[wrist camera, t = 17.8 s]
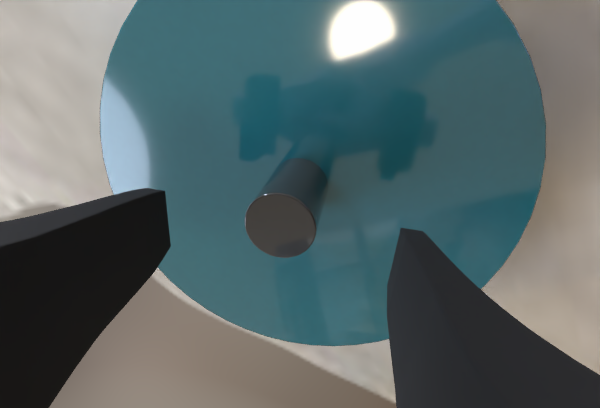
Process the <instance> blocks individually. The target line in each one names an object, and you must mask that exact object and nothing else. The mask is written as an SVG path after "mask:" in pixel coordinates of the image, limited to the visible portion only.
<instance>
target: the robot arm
mask: <svg viewBox="0 0 600 408" xmlns="http://www.w3.org/2000/svg"><path fill="white" fill-rule="evenodd" d="M170 247H171V244H170V234H169V224H168V214H167V204H166V194H165V191H163V190H157V189H150V188H143V189H137V190H132V191H127V192H123V193H119V194H115V195H112V196H108V197H104V198H100V199H97V200H93V201H89V202H86V203H82V204H78V205H75V206H71V207H67V208H63V209H59V210H54V211H50V212H46V213H43V214H38V215H34V216H30V217H25V218H20V219H15V220H10V221H4V222H0V408H49V406H50V405H51V403H52V402H53V400H54V399H55V397H56V396H57V394H58V393H59V391H60V390H61V388H62V387H63V385H64V384H65V382H66V381H67V379H68V378H69V376H70V375H71V374H72V372H73V371H74V369H75V368H76V366H77V365H78V364H79V362H80V361H81V359H82V358H83V357H84V355H85V354H86V352H87V351H88V350H89V348H90V347H91V345H92V344H93V343H94V341H95V340H96V339H97V337H98V336H99V335H100V334H101V332H102V331H103V330H104V329H105V328H106V326H107V325H108V324H109V323H110V322H111V321H112V320H113V319H114V317H115V316H116V315H117V314H118V313H119V312H120V311H121V309H122V308H123V307H124V306H125V305H126V304H127V303H128V302H129V300H130V299H131V298H132V297H133V296H134V295H135V294H136V293H137V291H138V290H139V289H140V288H141V287H142V286H143V285H144V283H145V282H146V281H147V280H148V279H149V278H150V276H151V275H152V274H153V273H154V272H155V270H156V269H157V267H158V266H159V264H160V263H161V261H162V260H163V258H164V257H165V255H166V253H167V252H168V250H169V248H170ZM387 322H388V331H389V340H390V349H391V357H392V366H393V374H394V382H395V392H396V406H397V408H600V375H599V374H597V373H595V372H594V371H592V370H590V369H589V368H587V367H586V366H584V365H582V364H581V363H579V362H577V361H576V360H574V359H573V358H571V357H570V356H568V355H567V354H565V353H564V352H562V351H561V350H559V349H558V348H556V347H555V346H553V345H552V344H550V343H549V342H547V341H546V340H544V339H543V338H541V337H540V336H538V335H537V334H536V333H534V332H533V331H531V330H530V329H529V328H527V327H526V326H525V325H523V324H522V323H521V322H519V321H518V320H517V319H515V318H514V317H513V316H512V315H510V314H509V313H508V312H506V311H505V310H504V309H503V308H501V307H500V306H499V305H498V304H497V303H495V302H494V301H493V300H492V299H491V298H489V297H488V296H487V295H486V294H485V293H484V292H483V291H482V290H481V289H480V288H478V287H477V286H476V285H475V284H474V283H473V282H472V281H471V280H470V279H469V278H468V277H467V276H466V275H465V274H464V273H463V272H462V271H461V270H460V269H459V268H458V267H457V266H456V265H455V264H454V263H453V262H452V261H451V260H450V259H449V258H448V257H447V256H446V255H445V254H444V253H443V252H442V251H441V249H440V248H439V247H438V246H437V245H436V244H435V243H434V242H433V241H432V240H431V239H430V238H429V237H428V235H427V234H426V233H424V232H423V231H419V230H413V229H406V228H401V229H400V233H399V238H398V242H397V246H396V250H395V254H394V259H393V263H392V267H391V271H390V275H389V280H388V284H387Z"/></svg>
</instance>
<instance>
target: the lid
mask: <svg viewBox="0 0 600 408" xmlns="http://www.w3.org/2000/svg"><path fill="white" fill-rule="evenodd" d="M100 136H101V144H102V152H103V159H104V163H105V167H106V171H107V175H108V179H109V183H110V186H111V189H112V191H113V194H114V195H115V194H119V193H123V192H127V191H132V190H137V189H143V188H150V189H157V190H163V191H165V194H166V204H167V214H168V224H169V234H170V244H171V247H170V248H169V250H168V252H167V253H166V255H165V257H164V258H163V260H162V261H161V263H160V264H159V266H158V268H159V269H160V270H161V271H162V272H163V273H164V275H165V276H166V277H167V278H168V279H169V280H170V281H171V282H172V283H174V284H175V285H176V286H177V287H178V288H179V289H181V290H182V291H183V292H184V293H185V294H186V295H188V296H189V297H190V298H192V299H193V300H194V301H196V302H197V303H199V304H200V305H202V306H203V307H204V308H206V309H207V310H209V311H211V312H213V313H214V314H216V315H218V316H220V317H221V318H223V319H225V320H227V321H229V322H231V323H233V324H236V325H238V326H240V327H242V328H244V329H247V330H250V331H253V332H255V333H258V334H261V335H264V336H267V337H271V338H275V339H279V340H283V341H287V342H294V343H300V344H307V345H321V346H344V345H358V344H365V343H372V342H378V341H382V340H386V339H389V331H388V322H387V284H388V280H389V275H390V271H391V267H392V263H393V259H394V254H395V250H396V246H397V242H398V238H399V233H400V229H401V228H406V229H413V230H419V231H423V232H424V233H426V234H427V235H428V237H429V238H430V239H431V240H432V241H433V242H434V243H435V244H436V245H437V246H438V247H439V248H440V249H441V251H442V252H443V253H444V254H445V255H446V256H447V257H448V258H449V259H450V260H451V261H452V262H453V263H454V264H455V265H456V266H457V267H458V268H459V269H460V270H461V271H462V272H463V273H464V274H465V275H466V276H467V277H468V278H469V279H470V280H471V281H472V282H473V283H474V284H475V285H476V286H477V287H478V288H480V289H481V288H482V287H484V286H485V285H486V284H487V283H488V281H489V280H490V279H491V278H492V277H493V276H494V275H495V274H496V272H497V271H498V270H499V269H500V268H501V267H502V266H503V264H504V263H505V261H506V260H507V259H508V257H509V256H510V254H511V253H512V251H513V250H514V248H515V247H516V245H517V244H518V242H519V240H520V238H521V236H522V234H523V232H524V230H525V228H526V226H527V224H528V222H529V220H530V218H531V216H532V213H533V209H534V206H535V203H536V200H537V197H538V194H539V191H540V188H541V181H542V175H543V169H544V163H545V157H546V121H545V115H544V108H543V101H542V94H541V89H540V86H539V83H538V80H537V76H536V73H535V70H534V67H533V64H532V61H531V57H530V55H529V53H528V51H527V49H526V47H525V45H524V43H523V41H522V39H521V37H520V35H519V33H518V31H517V29H516V27H515V26H514V24H513V22H512V21H511V20H510V18H509V17H508V15H507V14H506V13H505V11H504V10H503V9H502V7H501V6H500V5H499V3H498V2H497V0H137V2H136V4H135V5H134V7H133V9H132V10H131V12H130V13H129V15H128V17H127V18H126V20H125V22H124V23H123V25H122V27H121V29H120V32H119V34H118V36H117V39H116V41H115V44H114V46H113V48H112V51H111V53H110V57H109V61H108V65H107V68H106V72H105V76H104V80H103V87H102V95H101V103H100Z"/></svg>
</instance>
